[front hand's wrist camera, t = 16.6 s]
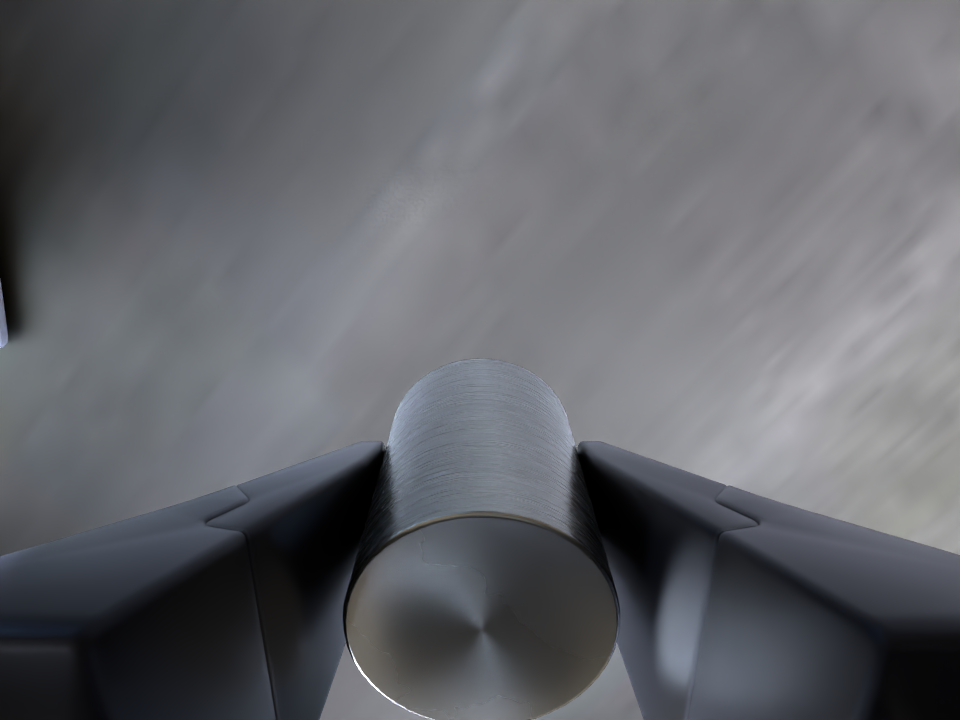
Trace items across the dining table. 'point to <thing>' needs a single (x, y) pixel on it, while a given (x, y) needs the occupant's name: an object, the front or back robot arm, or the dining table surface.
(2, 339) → the back robot arm
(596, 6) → the dining table surface
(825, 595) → the front robot arm
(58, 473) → the dining table surface
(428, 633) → the can
